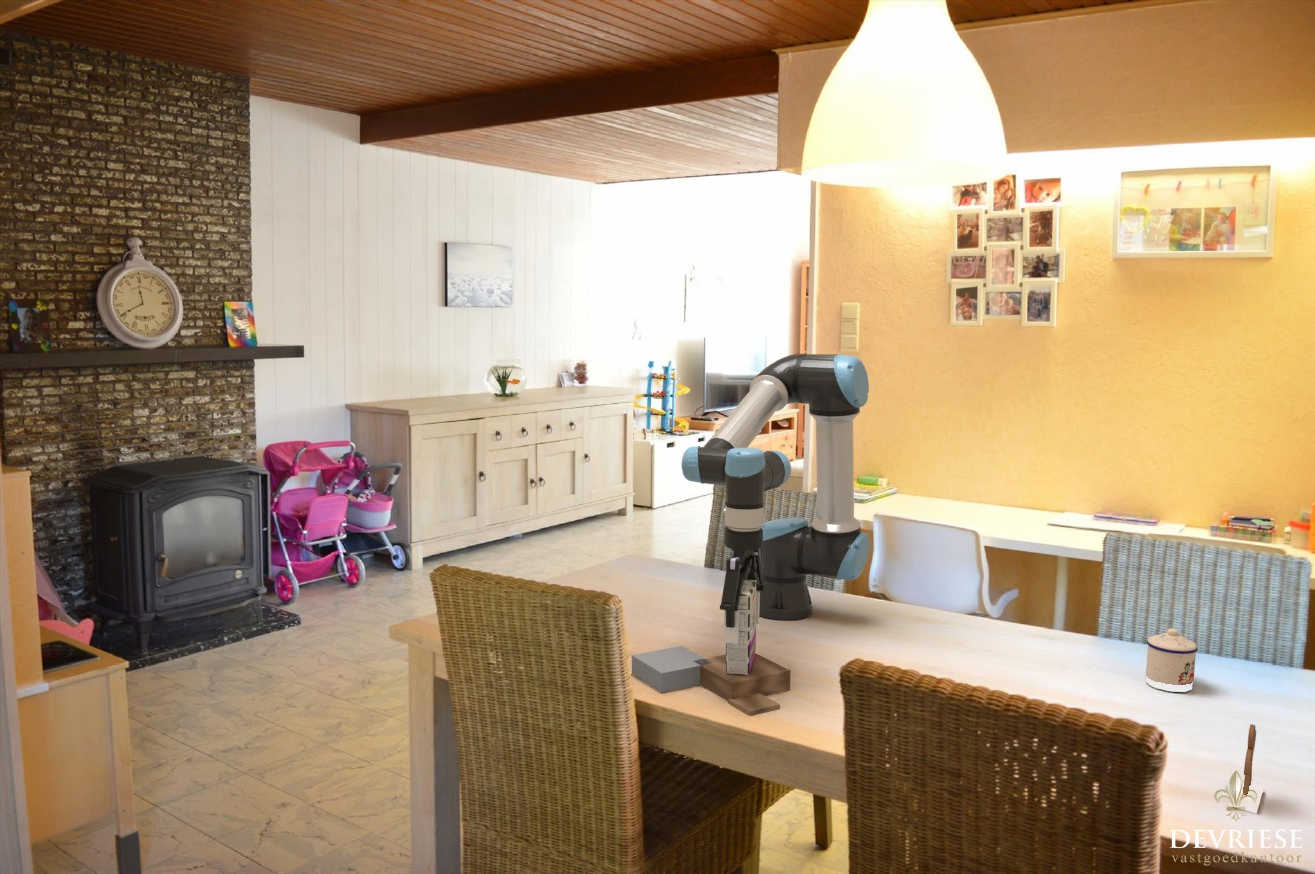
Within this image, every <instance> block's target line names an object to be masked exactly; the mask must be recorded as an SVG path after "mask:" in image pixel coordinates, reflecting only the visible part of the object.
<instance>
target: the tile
mask: <svg viewBox="0 0 1315 874" xmlns="http://www.w3.org/2000/svg"><path fill="white" fill-rule="evenodd" d="M727 703H728V704H729V705H731V706H732V707H734V708H736V709H738V710H739V711H741V712H742V713H745V714H746V715H748V716H749V717H750V716H753V715H758V714H763V713H766V712H769V711H770V712H771V711H774V710H780V709H781V704H780V703H778V702H777V701H776V700H775V701H774V700H773V699H771V698H769V697H767V695H766V696H764V695H762V694H760V693H758V694H753V695H749V696H744V697H740V698H736V699H728V701H727Z"/></svg>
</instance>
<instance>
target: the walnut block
mask: <svg viewBox="0 0 1315 874" xmlns="http://www.w3.org/2000/svg"><path fill="white" fill-rule="evenodd" d="M704 658H705V657H704ZM700 660H701V661H698V660H696V661H693V662H695V663H697V664H700V663H701V662H704V664H703V663H701V664H703V665H701V664H700V665H701V671H700V685H699V686H701V687H704V689H706V690H708V691H710V692H712V693H713V694H715V695H717V696H719V697H720V698H722V699H724V700H725V701H727V702H728V699H736V698H740V697H744V696H749V695H753V694H758V693H760V694H762V695H764V696H766V697H767V696H769V695H774V694H779V693H783V692H788V691H791V677H792V676H791V675H792V673H791V671H792V670H790V669H789V668H786V667H784V666H782V665H780V664H778V663H776V662H775V661H772V660H770V659H769V658H767V657H764V656H763V655H760V654H759V653H756V657H755V660H754V663H753V666H752V669H751V672H750V675H749V676H745V675H730V674H726V653H725V654H722V655H715V656H711V657H706V658H705V659H703V661H702V659H700ZM706 660H707V661H706ZM708 661H709V662H712V663H709V662H708ZM705 662H706V663H705ZM708 663H709V664H708ZM705 664H706V665H705Z"/></svg>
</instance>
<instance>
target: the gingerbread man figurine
mask: <svg viewBox="0 0 1315 874" xmlns="http://www.w3.org/2000/svg"><path fill="white" fill-rule="evenodd" d="M1249 725H1250V726H1249V729H1248V736H1247V750H1246V753H1245V759H1244V767H1243V775H1244V780H1243V782H1244V787H1243V794H1244V795H1246V796H1247V794H1248V791H1249V786H1250V785H1251V781H1252V780H1253V778H1252V777H1253V775H1252V774H1253V759H1254V753H1255V746H1256V740H1257V730H1256V724H1253V723H1251V724H1249Z"/></svg>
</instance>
